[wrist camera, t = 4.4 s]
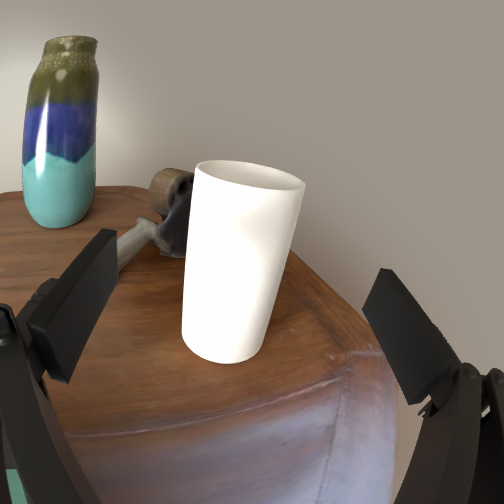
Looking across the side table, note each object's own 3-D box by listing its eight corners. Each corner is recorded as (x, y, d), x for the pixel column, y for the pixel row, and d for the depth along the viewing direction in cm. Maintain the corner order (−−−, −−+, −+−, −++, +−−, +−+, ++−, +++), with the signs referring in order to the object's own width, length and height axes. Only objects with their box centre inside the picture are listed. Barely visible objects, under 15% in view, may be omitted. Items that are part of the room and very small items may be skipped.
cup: (206, 297, 32) (226, 156, 25) (273, 324, 30) (314, 179, 23) (165, 339, 25) (173, 168, 18) (244, 376, 23) (291, 199, 16)
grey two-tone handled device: (103, 298, 29) (95, 198, 23) (80, 274, 31) (72, 183, 25) (217, 244, 45) (229, 171, 39) (190, 230, 47) (199, 161, 42)
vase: (97, 232, 41) (113, 30, 26) (20, 240, 33) (24, 37, 19) (95, 203, 51) (109, 47, 36) (33, 209, 43) (40, 51, 29)
